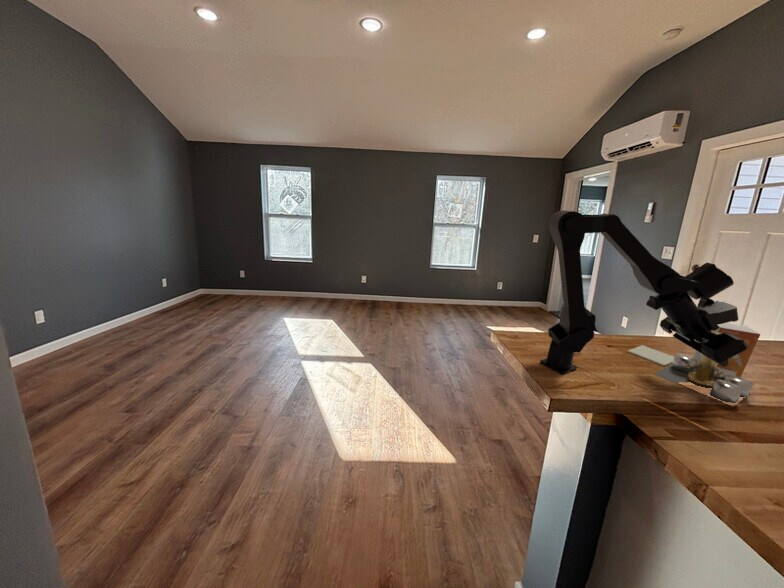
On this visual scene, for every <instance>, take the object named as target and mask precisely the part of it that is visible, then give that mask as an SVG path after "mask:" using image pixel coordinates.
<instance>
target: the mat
mask: <svg viewBox="0 0 784 588" xmlns="http://www.w3.org/2000/svg"><path fill="white" fill-rule="evenodd" d="M671 365H672V364H669V365H667V366H665V367H664V368H662V369H660V370H657V371H656V372H654V373H653V375H654V376H656V377H660V378H661V379H665V380H666V381H669V382H671V383H674V384H676V385H678V384H677V383H679V382H684V383H685V382H686V383H687V382H689V381H688V380H687V377H688V374H686V373H682V372H679V371H677V370H675V369H673V368H672V367H671ZM696 370H697V368H694V371H693V372H696Z"/></svg>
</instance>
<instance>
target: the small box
mask: <svg viewBox="0 0 784 588" xmlns="http://www.w3.org/2000/svg"><path fill="white" fill-rule="evenodd" d="M717 325H718V326H719V328H718V329H716V330H715V331H713V330H711V332H718V333H728V334H732V335H734V336H736V337H738V338H740V339H742V340H744V342H745V343H746V344H747V346H748V349H747V350H745V351H743V352H741V353H739V354H737V355H735V356H733V357H731V358H729V359H728V363H729V364H728V365H726V366H727V367H729V368H732V369H734V370H735V371H736V372H737V373H736V376H738V377H742V375H743V373H744V371H745V370H746V367H747V365H748V362H749V361H750V358H751V356H752V354H753V352H754V349H755V347H756V346H757V344H758V340H759V338H760V336H761V333H760V332H757V331H756V330H754V329H752V328H751V327H749V326H747V325H742V324H737V323H732V322H727V323H723V324H717ZM705 342H706V341H705ZM702 355H703V354H701V353H700V352H698V351H697V350H695V352H694V355H693V356H692V357H693V358H695V359H696V360H697V363H696V366H697V367H698V365H699V363H700V360H701V358H702ZM719 365H720V364H719Z"/></svg>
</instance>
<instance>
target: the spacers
mask: <svg viewBox="0 0 784 588" xmlns="http://www.w3.org/2000/svg"><path fill="white" fill-rule="evenodd" d="M673 357H674V360H673V362H672V363H671V364H670V365H671V367H672V368H673V369H675V370H677V371H679V372H682V373H686V374H689V372H693V371H694V368H695V367H696V366H697V365H696V363H697V360H696V359H695V358H693V357H694V356H690V355H688V354H683V353H675V355H674V356H673ZM695 369H696V368H695ZM736 373H737V372H736V371H735V370H734V369H732V368H729V367H727V366H722V365H719V364H718V365H717V367H716V370H715V372H714V375H713V377H712V378H714V379H715V382H714V385H713V387H712V390H711V392H710V395H711V396H713V397H715V398H717V399H720V400H722V401H725V402H732V403H736V402H737V401H738V399H739V397H747V398H748V397H749V396H750V395H749V393H750V391H751V390H753V386H754V383H753V382H752V381H751V380H749V379H746V378H743V377H742V376H741V377H738V376H736Z"/></svg>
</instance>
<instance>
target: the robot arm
mask: <svg viewBox="0 0 784 588" xmlns="http://www.w3.org/2000/svg"><path fill="white" fill-rule="evenodd" d="M548 229H549V231H550V236H551V239H552V241H553V243H554V244H555V245H554V246H556V249H557V252H558V263H559V273H560V282H561V283H560V284H561V293H562V302H563V307H562V308H561V310H560V311H561V312H560V314H559V322H558V323H556V324H554V325H552V326H551V327H549V328H548V329H547V333H548V337H549V338H550V339H551V341H550V344H549V348H548V351H547V352H548V353H547V356H546V358H543V359H541V360H539V363H541V364H543V365H544V366H546V367H547V368H550V369H552V370H553V371H556V372H557V371H558V372H557V373H559V372H560V374H561V373H564V374H566V373H565V372H567V373H569V372H568V371H570V372H572V371H571V370H573V371H575V370H577V368H578V366H576V365H574V364H573V361H574V356H575V354H576V353H581V352H582V351H583V349H584V348H585V346H587V344H588V343H589V342H591V340H593V339H594V337H595V332H598V330H597V327H596V319H597V318H596V315H595V314H594V313H593V312H591V311H590V310H589V309H587V308H586V306H585V297H584V295H585V294H584V284H583V271H582V261H581V260H582V259H581V248H582V245H583V243H584V240H585V235H586V234H595V233H598V234H599V233H600V234H601V235H602V236H603V237H604V238H605V239H606V241H608V242H609V243H610V244H611V246H612V247H613V248H614V249H615V250H616V251H617V252H618V253H619V254H620V255H621V257H622V258H623V259H624V260H626V262H627V263H628V264H629V266H630V267H631V268H632V272H633V275H634V278H635V279H636V281H637V282H638V284H639V285H640V286H641V287H642V288H644V289H646V290H648V291H651V292H653V293H655V294H656V295H649V298H648V300H647V302H646V303H645V304H646V307H649V308H650V309H653V310H656V311H657V310H659V309H661V310H662V311H663V312H664V314H665V315H666V317H665V318H663V319H661V321H660V322H659V327H660V328H661V329H662V330H663V331H664V332H665V333H668V334H669V335H671V334H672V337H673V338H675V339H676V340H678V341H680V342H681V343H683V344H684V345H686V346H688V347H690V348H691V349H693V350H695V351H696V350H697V351H698V352H700V353H701V354H703V355H705V356H706V357H708V358H710V359H712V360H713V361H715V362H717V363H718V364H720V365H722V366H726V365H728V364H729V363H728V359H729V358H731V357H733V356H735V355H737V354H739V353H741V352H743V351H745V350H747V349H748V346H747V344H746V343H745V342H744V340H742V339H740V338H738V337H736V336H734V335H732V334H728V333H722V334H715V333H713V332H711V330H713V331H715V330H716V329H718V328H719V326H718V325H717V324H723V323H732V322H733V323H734V322H737V321H739V313H738V307H737V306H736V305H733V304H731V303H727V302H726V301H725V302H724V301H719V300H715V301H714V299H712V298H713V297H714V296H716V295H718V294H720V293H722V292H723V291H725V290H727V289H728V288H731V287H732V286H734V284H735V283H734V280H733V278H732V277H731V276H730V275H728V274H727V273H726V272H725V271H723V270H722V269H721V268H718V267H717V265H716V264H715V263H712V262H705V263H703V264H702V265H700V266H699V267H698V268H696V269H695V270H693V271H691V272H690V273H689V274H687V275H685V276H684V275H681V274H680V273H679V272H678V271H677V270H675V269H673V268H672V267H671V266H669V265H668V264H666V263H664V262H662V261H661V260H659V259H658V258H656V257H655V256H653V255H652V254H651V253H650V251H649V250H648V249H647V248H646V247H645V246H644V245H643V244H642V243H641V242H640V240H639V239H638V238H637V237H636V236H635V235H634V234H633V233H632V232H631V230H630V229H629V228H628V227H627V225H625V224H624V223H623V222H622V220H621V218H620V216H618V215H617V214H614V213H612V214H611V213H601V214H582V213H580V212H578V211H576V210H575V211H574V210H558V211H557V212H554V213H553V214H552V216H551V217H550V218H549V219H548ZM694 300H699V301H698V303H697V304H696V303H695V301H694ZM673 332H674V333H673ZM705 341H706V342H705ZM574 369H575V370H574Z"/></svg>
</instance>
